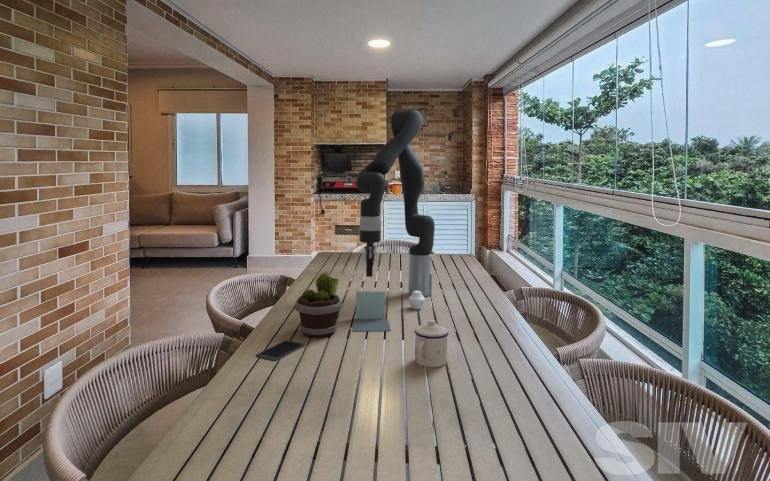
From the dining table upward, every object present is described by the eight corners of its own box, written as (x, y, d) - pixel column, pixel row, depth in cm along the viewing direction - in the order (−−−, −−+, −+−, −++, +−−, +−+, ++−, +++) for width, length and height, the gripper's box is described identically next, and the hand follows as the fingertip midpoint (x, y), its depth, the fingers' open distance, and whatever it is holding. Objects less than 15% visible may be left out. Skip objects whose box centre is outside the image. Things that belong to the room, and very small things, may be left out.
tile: (384, 317, 172) (384, 290, 170) (384, 319, 170) (385, 291, 168) (356, 317, 171) (356, 290, 169) (356, 319, 169) (356, 291, 168)
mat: (387, 319, 169) (387, 319, 169) (390, 331, 157) (390, 330, 157) (353, 319, 168) (353, 319, 168) (353, 331, 157) (353, 331, 157)
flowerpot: (323, 344, 145) (322, 278, 142) (285, 334, 153) (284, 272, 150) (351, 330, 157) (352, 270, 154) (315, 322, 165) (314, 264, 162)
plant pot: (335, 305, 185) (335, 283, 184) (311, 304, 187) (311, 282, 186) (342, 299, 194) (342, 278, 193) (319, 297, 196) (319, 276, 195)
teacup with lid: (423, 352, 139) (424, 313, 138) (452, 359, 135) (454, 319, 133) (402, 367, 129) (403, 325, 128) (433, 375, 125) (434, 331, 123)
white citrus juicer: (423, 311, 180) (424, 292, 179) (407, 309, 181) (407, 291, 180) (425, 306, 186) (426, 288, 185) (409, 305, 187) (410, 287, 186)
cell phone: (254, 357, 135) (254, 355, 135) (286, 342, 148) (286, 339, 147) (275, 362, 132) (275, 360, 132) (305, 346, 144) (305, 344, 144)
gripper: (381, 231, 167) (380, 280, 170) (379, 226, 181) (378, 272, 183) (360, 230, 167) (359, 280, 169) (359, 226, 180) (358, 272, 182)
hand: (369, 276), depth 176 cm, fingers closed
